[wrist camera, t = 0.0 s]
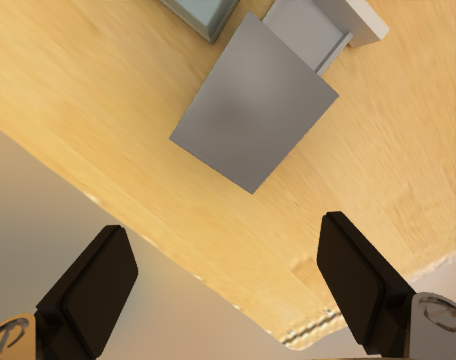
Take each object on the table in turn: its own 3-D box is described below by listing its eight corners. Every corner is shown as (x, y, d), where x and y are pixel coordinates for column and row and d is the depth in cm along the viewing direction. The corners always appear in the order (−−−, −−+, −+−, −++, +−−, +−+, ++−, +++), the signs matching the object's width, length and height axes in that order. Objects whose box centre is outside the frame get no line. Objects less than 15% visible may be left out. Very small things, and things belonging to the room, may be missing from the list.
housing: (242, 31, 33) (249, 9, 23) (310, 93, 36) (339, 95, 27) (182, 126, 38) (168, 138, 29) (246, 171, 42) (252, 194, 33)
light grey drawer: (285, -42, 28) (300, -75, 22) (360, 39, 32) (390, 29, 26) (213, 72, 34) (210, 69, 28) (284, 130, 38) (295, 138, 32)
